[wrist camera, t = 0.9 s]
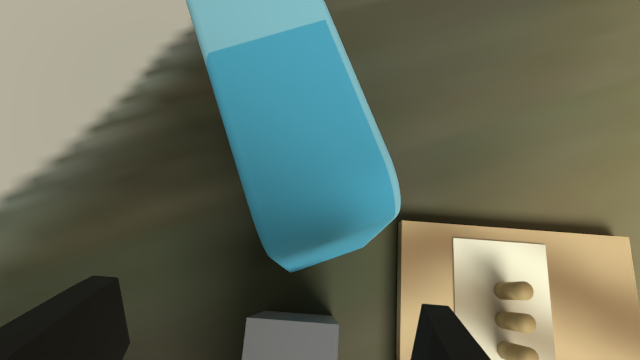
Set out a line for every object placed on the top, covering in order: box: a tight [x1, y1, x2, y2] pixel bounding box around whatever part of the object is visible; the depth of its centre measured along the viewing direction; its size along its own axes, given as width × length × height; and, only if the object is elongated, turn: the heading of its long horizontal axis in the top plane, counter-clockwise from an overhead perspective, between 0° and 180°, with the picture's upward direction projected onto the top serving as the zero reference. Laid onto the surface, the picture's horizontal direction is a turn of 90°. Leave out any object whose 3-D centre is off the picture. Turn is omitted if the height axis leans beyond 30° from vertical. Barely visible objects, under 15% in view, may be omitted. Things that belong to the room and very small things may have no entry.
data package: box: [186, 0, 401, 273], centre depth 18 cm, size 12×4×12 cm, turn 19°
